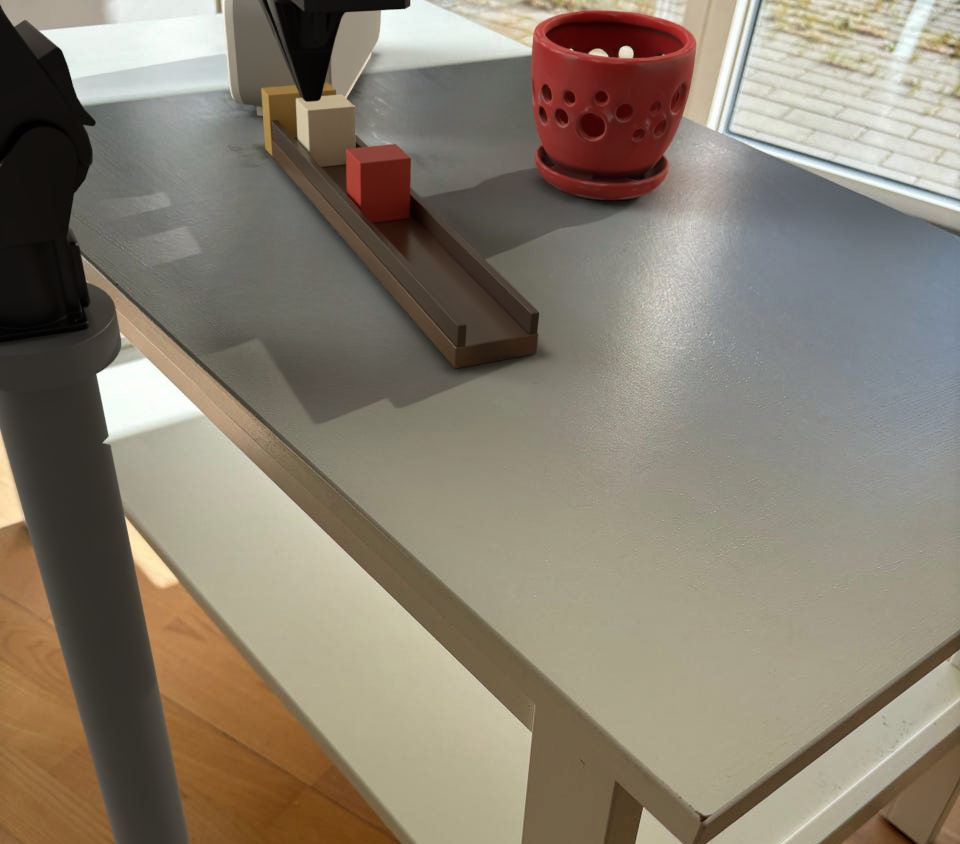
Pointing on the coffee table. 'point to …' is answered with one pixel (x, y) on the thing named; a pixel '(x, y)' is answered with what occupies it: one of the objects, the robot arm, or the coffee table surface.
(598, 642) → the coffee table surface
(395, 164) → the block
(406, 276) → the rail
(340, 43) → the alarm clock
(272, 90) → the left stop
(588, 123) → the flower pot
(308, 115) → the block
